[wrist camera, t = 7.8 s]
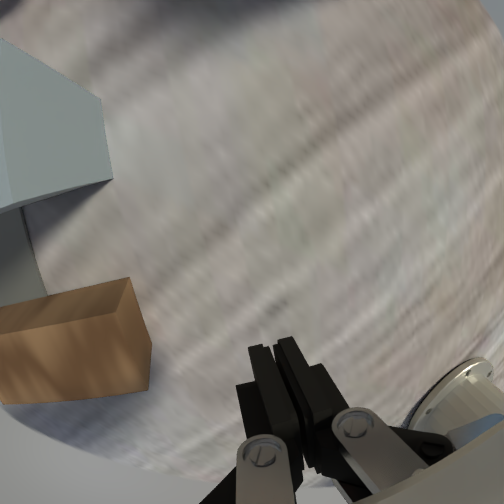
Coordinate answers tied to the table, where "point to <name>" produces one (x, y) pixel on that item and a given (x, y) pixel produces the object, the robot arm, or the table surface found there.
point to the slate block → (46, 132)
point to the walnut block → (74, 346)
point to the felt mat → (17, 261)
